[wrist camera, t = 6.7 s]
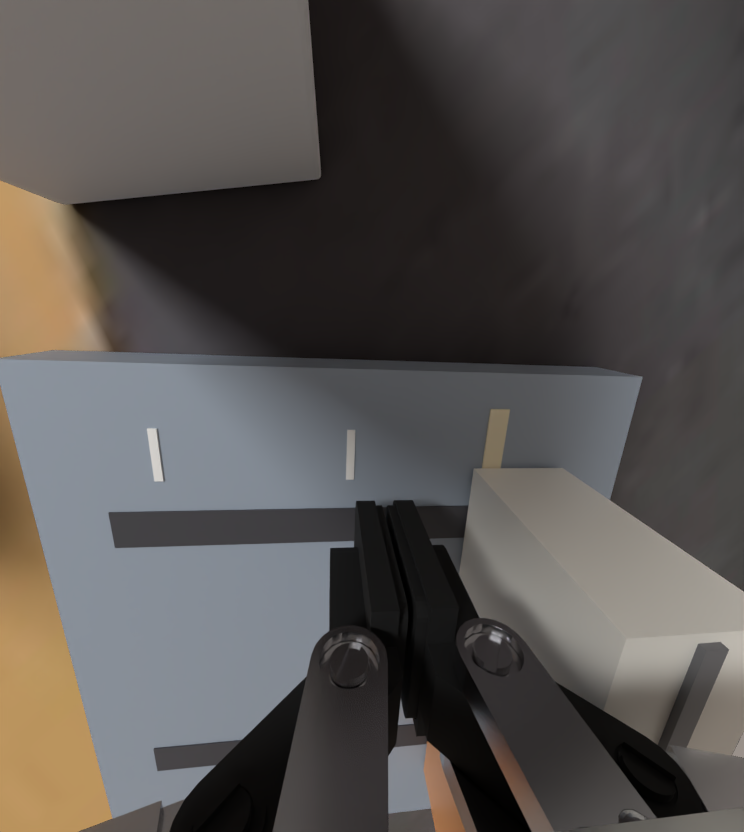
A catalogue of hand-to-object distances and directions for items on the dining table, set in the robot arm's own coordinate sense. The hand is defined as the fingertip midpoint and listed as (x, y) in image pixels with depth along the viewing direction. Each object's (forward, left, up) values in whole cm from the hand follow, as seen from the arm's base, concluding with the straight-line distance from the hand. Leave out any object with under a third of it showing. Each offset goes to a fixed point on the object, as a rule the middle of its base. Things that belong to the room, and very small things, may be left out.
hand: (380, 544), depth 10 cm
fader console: (+5, -1, -3) cm, 6 cm away
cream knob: (0, +5, -1) cm, 5 cm away
